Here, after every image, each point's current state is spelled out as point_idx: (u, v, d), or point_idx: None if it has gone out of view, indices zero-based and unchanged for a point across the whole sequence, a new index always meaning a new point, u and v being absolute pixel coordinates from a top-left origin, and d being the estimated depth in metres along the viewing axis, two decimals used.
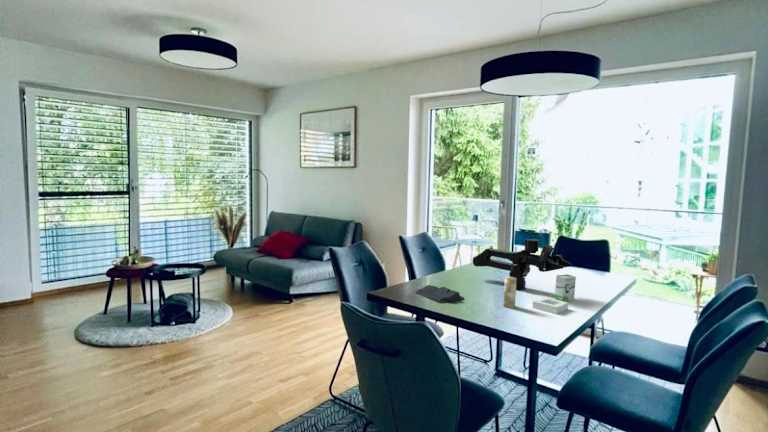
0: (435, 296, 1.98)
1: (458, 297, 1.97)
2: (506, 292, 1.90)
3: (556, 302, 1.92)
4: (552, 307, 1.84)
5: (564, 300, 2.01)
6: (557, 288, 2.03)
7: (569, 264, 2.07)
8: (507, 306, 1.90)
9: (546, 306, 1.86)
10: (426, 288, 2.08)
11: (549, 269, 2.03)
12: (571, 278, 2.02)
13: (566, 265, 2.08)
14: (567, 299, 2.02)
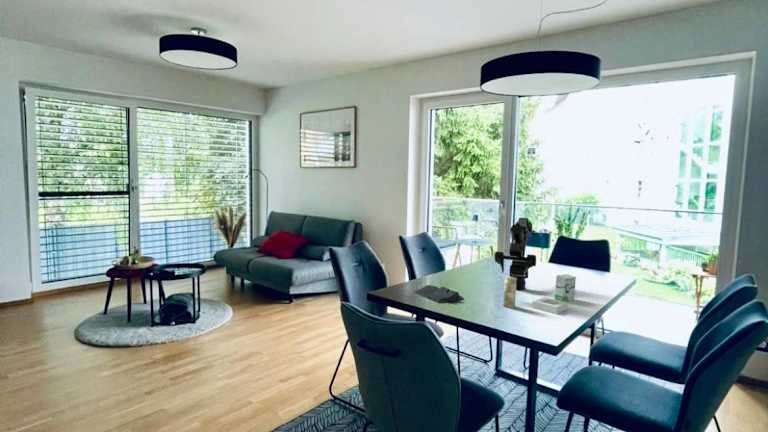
0: (434, 296, 1.98)
1: (457, 297, 1.97)
2: (506, 292, 1.90)
3: (556, 302, 1.92)
4: (552, 307, 1.84)
5: (564, 300, 2.01)
6: (557, 288, 2.03)
7: (523, 272, 1.96)
8: (507, 306, 1.90)
9: (546, 306, 1.86)
10: (425, 288, 2.08)
11: (500, 264, 2.05)
12: (571, 278, 2.02)
13: None
14: (567, 299, 2.02)
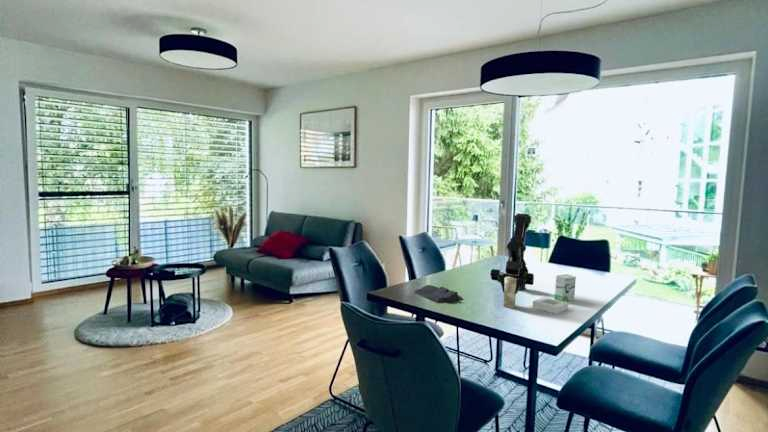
0: (433, 296, 1.98)
1: (456, 297, 1.97)
2: (506, 292, 1.90)
3: (556, 302, 1.92)
4: (552, 307, 1.84)
5: (564, 300, 2.01)
6: (557, 288, 2.03)
7: None
8: (507, 306, 1.90)
9: (546, 306, 1.86)
10: (425, 288, 2.08)
11: (501, 283, 1.96)
12: (571, 278, 2.02)
13: (516, 289, 1.91)
14: (567, 299, 2.02)
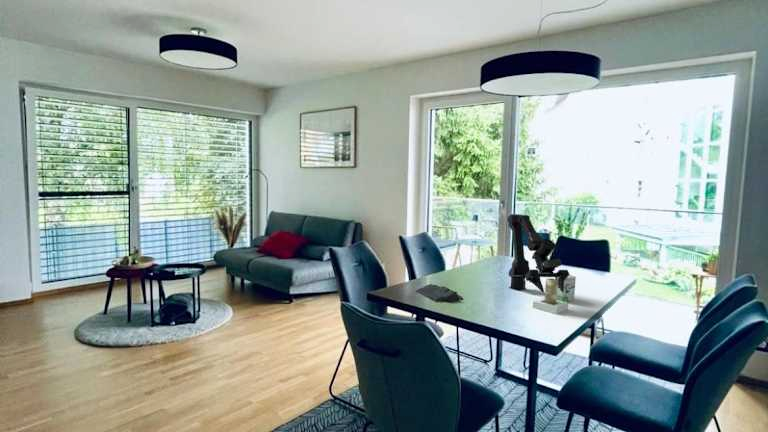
0: (433, 295, 2.00)
1: (456, 297, 1.97)
2: (550, 295, 1.88)
3: None
4: (552, 307, 1.84)
5: (564, 300, 2.01)
6: None
7: (561, 289, 1.90)
8: None
9: (546, 306, 1.86)
10: (426, 287, 2.10)
11: (533, 282, 1.92)
12: (571, 278, 2.02)
13: (560, 287, 1.91)
14: (567, 299, 2.02)
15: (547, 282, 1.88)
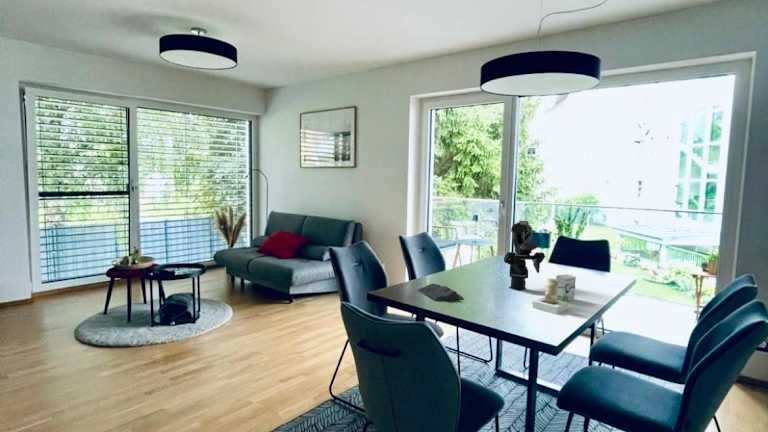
0: (433, 294, 2.01)
1: (455, 296, 1.98)
2: (551, 295, 1.88)
3: None
4: (552, 307, 1.84)
5: (564, 300, 2.01)
6: None
7: (537, 270, 2.01)
8: None
9: (546, 306, 1.86)
10: (428, 287, 2.12)
11: (511, 264, 2.04)
12: (571, 278, 2.02)
13: (536, 268, 2.02)
14: (567, 299, 2.02)
15: (547, 282, 1.88)
